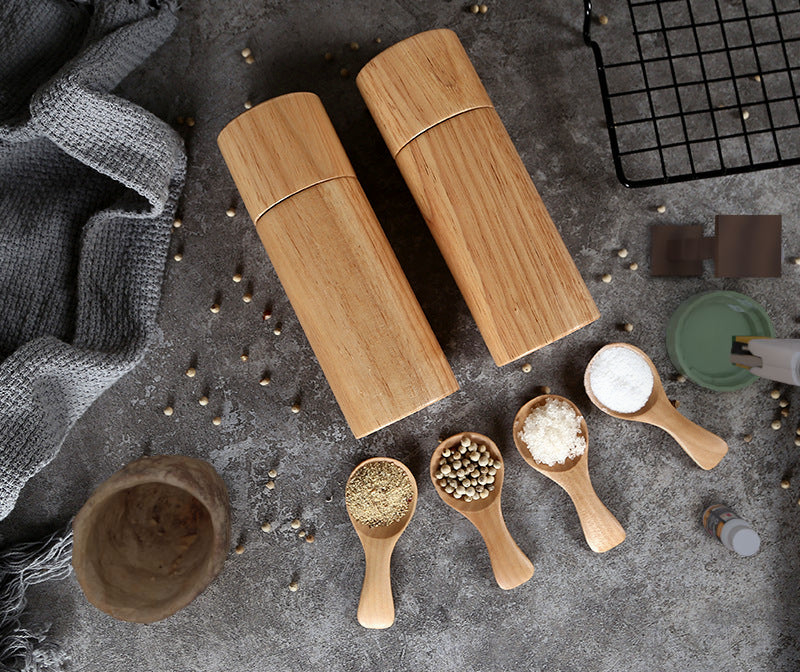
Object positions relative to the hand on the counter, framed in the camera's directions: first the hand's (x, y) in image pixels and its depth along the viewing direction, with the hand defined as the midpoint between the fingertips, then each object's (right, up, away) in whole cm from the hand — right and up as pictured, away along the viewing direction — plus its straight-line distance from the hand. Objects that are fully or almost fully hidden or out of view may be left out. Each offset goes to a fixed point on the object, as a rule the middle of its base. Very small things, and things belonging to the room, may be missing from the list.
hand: (752, 351), depth 98 cm
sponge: (0, 0, +2) cm, 2 cm away
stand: (-4, +16, +19) cm, 25 cm away
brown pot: (-91, -28, +19) cm, 97 cm away
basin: (+3, 0, +19) cm, 19 cm away
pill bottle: (+4, -33, +19) cm, 38 cm away
